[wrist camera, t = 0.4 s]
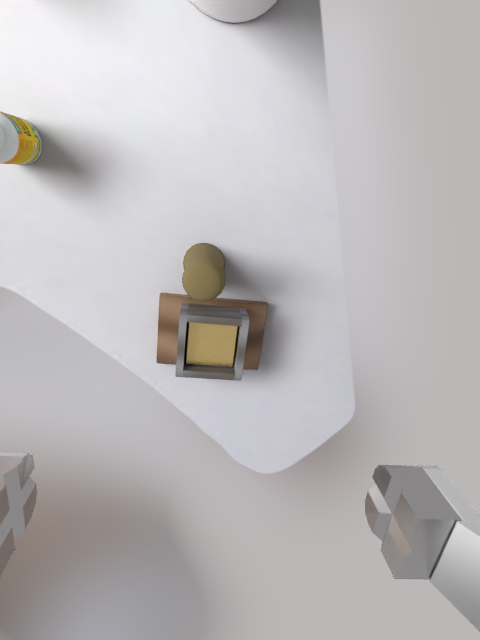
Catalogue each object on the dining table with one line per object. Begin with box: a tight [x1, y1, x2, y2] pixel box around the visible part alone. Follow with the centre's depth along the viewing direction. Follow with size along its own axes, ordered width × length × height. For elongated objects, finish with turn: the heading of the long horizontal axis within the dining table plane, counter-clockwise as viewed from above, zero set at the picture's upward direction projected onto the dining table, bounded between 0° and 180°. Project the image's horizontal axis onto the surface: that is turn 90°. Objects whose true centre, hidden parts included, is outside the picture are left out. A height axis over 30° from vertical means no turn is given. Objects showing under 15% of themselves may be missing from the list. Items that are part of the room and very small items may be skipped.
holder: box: [157, 293, 268, 381], centre depth 53 cm, size 11×16×6 cm
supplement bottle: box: [0, 112, 42, 165], centre depth 40 cm, size 5×5×10 cm
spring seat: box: [186, 322, 238, 367], centre depth 52 cm, size 7×7×1 cm
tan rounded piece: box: [182, 243, 225, 302], centre depth 47 cm, size 6×6×11 cm
